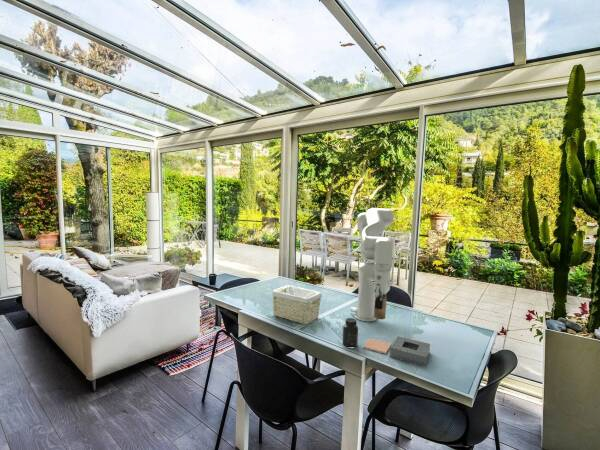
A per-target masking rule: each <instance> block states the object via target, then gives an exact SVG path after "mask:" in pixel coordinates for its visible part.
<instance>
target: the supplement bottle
mask: <svg viewBox="0 0 600 450" xmlns="http://www.w3.org/2000/svg"><path fill="white" fill-rule="evenodd" d="M358 341H359V326H358V325H357V319H356V318H355V317H353V318H352V317H347V318H346V319H345V324H344V325H343V326H342V343H341V344H342V346H343V345H344V346H346V347H356V348H357V347H358V344H359V343H358ZM344 346H343V347H344ZM346 347H345V348H346Z"/></svg>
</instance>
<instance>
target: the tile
mask: <svg viewBox="0 0 600 450" xmlns="http://www.w3.org/2000/svg"><path fill="white" fill-rule="evenodd" d="M391 346H392V343H389V342H386V341H382V340H379V339H378V340H377V339H374V338H369V339H368V340H367V342H366V343H365V344H364V345H363V347H362V348H363V349H364V348H367V349H366V350H368V349H371V350H370V351H372V350H374V351H373V352H375V351H378V352H377V353H379V352H380V353H379V354H382V353H384V354H383V355H387V353H388V352H389V351H390V349H389V348H391ZM387 351H388V352H387Z"/></svg>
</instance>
